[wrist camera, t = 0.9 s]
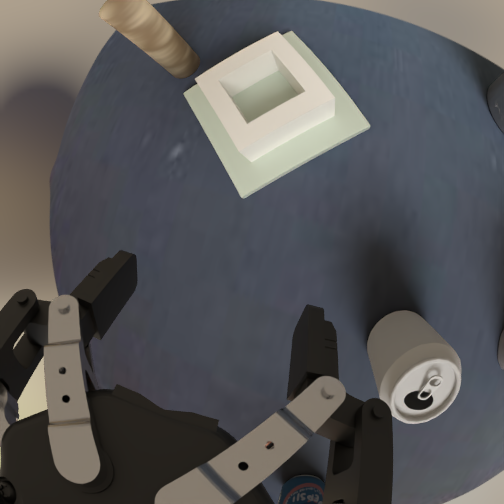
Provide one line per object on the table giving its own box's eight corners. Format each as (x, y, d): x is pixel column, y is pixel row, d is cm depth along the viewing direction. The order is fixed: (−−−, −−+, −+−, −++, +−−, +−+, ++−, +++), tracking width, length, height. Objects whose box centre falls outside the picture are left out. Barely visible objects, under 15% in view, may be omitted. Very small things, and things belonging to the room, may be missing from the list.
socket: (292, 35, 28) (285, 8, 22) (369, 128, 27) (376, 109, 21) (186, 96, 32) (165, 78, 26) (244, 198, 31) (227, 192, 26)
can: (354, 357, 29) (364, 420, 17) (384, 298, 28) (415, 338, 16) (406, 376, 28) (433, 437, 16) (437, 320, 26) (484, 364, 15)
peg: (192, 48, 31) (129, -18, 16) (205, 65, 31) (138, -5, 15) (167, 66, 32) (96, 8, 17) (177, 84, 32) (101, 24, 17)
